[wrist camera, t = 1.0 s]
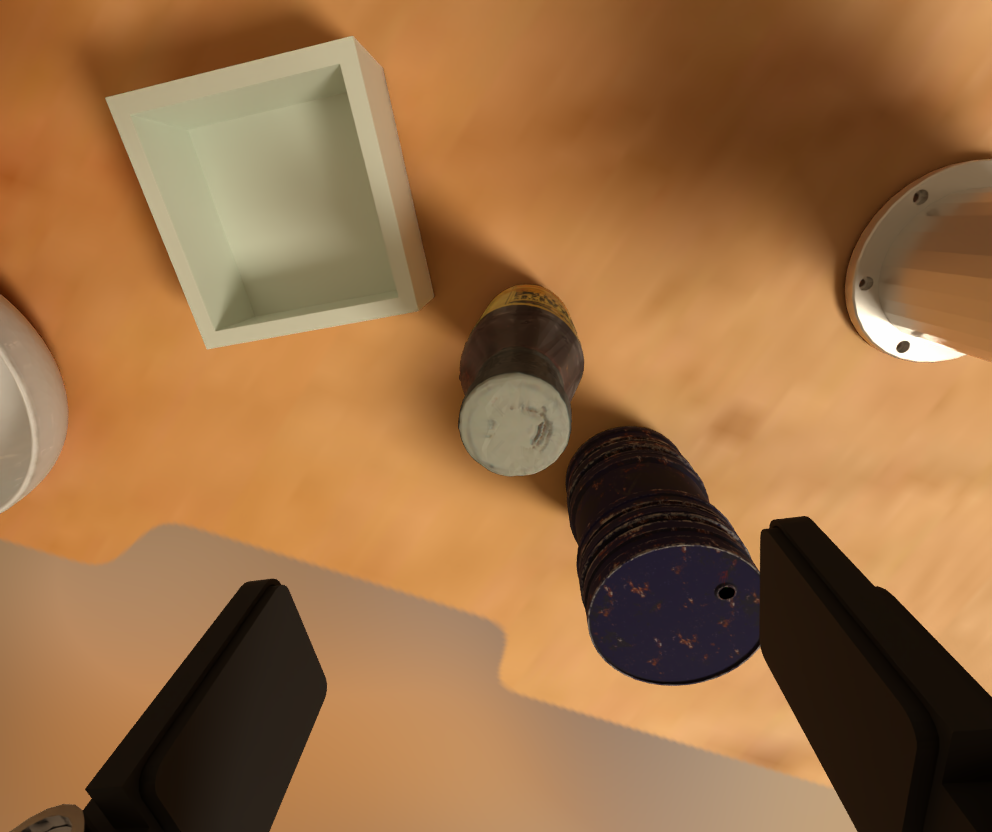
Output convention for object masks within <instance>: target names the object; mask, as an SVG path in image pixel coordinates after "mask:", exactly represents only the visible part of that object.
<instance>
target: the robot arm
mask: <svg viewBox="0 0 992 832" xmlns="http://www.w3.org/2000/svg"><path fill="white" fill-rule="evenodd" d="M860 281H861V283H860ZM859 283H860V284H859ZM845 297H846V307H847V310H848V313H849V316H850V319H851V322H852V323H853V325H854V327H855V328H856V330H857V332H858V333H859V335H860V336H861V337H862V338H863V339H864V340H865V341H866V342H867V343H868V344H869V345H871V346H873V347H874V348H876V349H878V350H879V351H881V352H883V353H885V354H888V355H890V356H893V357H895V358H898V359H902V360H907V361H912V362H929V363H934V362H940V361H947V360H953V359H956V358H959V357H962V356H966V355H970V356H973V357H977V358H980V359H983V360H986V361H990V362H992V159H983V160H972V161H966V162H961V163H956V164H951V165H948V166H945V167H943V168H940V169H937V170H935V171H932V172H929V173H928V174H926V175H924V176H922V177H921V178H919V179H917V180H915V181H914V182H912V183H910V184H909V185H907V186H906V187H905V188H903V189H902V190H901V191H900V192H898V193H897V194H896V195H894V196H893V197H892V198H891V199H890V200H889V201H888V202H887V203H886V204H885V205H884V206H883V207H882V208H881V209H880V210H879V211H878V212H877V213H876V214H875V216H874V217H873V218H872V220H871V221H870V223H869V224H868V225H867V227H866V228H865V230H864V231H863V232H862V234H861V236H860V238H859V240H858V242H857V244H856V246H855V248H854V250H853V253H852V256H851V259H850V262H849V266H848V269H847V274H846V283H845ZM759 640H760V647H761V650H762V654H763V656H764V659H765V661H766V663H767V665H768V666H769V668H770V670H771V672H772V674H773V676H774V678H775V679H776V681H777V683H778V685H779V687H780V689H781V691H782V692H783V694H784V696H785V698H786V700H787V702H788V704H789V705H790V707H791V709H792V711H793V713H794V715H795V717H796V718H797V720H798V722H799V724H800V726H801V728H802V729H803V731H804V733H805V735H806V737H807V739H808V741H809V742H810V744H811V746H812V748H813V750H814V752H815V754H816V755H817V757H818V759H819V761H820V763H821V765H822V767H823V768H824V770H825V772H826V774H827V776H828V778H829V779H830V781H831V783H832V785H833V787H834V789H835V791H836V792H837V794H838V796H839V798H840V800H841V802H842V804H843V805H844V807H845V809H846V811H847V813H848V815H849V817H850V818H851V820H852V822H853V824H854V826H855V828H856V830H857V831H858V832H992V697H991V696H990V695H989V694H988V693H987V692H986V691H985V690H984V689H983V688H982V687H981V686H980V685H979V684H978V683H977V681H976V680H975V679H974V678H973V677H972V676H971V675H970V674H969V673H968V672H967V671H966V670H965V669H964V668H963V667H962V666H961V665H960V664H959V663H958V662H957V661H956V660H955V659H954V658H953V657H952V656H951V655H950V654H949V653H948V652H947V651H946V650H945V649H944V647H943V646H942V645H941V644H940V643H939V642H938V641H937V640H936V639H935V638H934V637H933V636H932V635H931V634H930V633H929V632H928V631H927V630H926V629H925V628H924V627H923V626H922V625H921V624H920V623H919V622H918V621H917V620H916V619H915V618H914V617H913V616H912V614H911V613H910V612H909V611H908V610H907V609H906V608H905V607H904V606H903V605H902V604H901V603H900V602H899V601H898V600H897V599H896V598H895V597H894V596H893V595H892V594H890V593H889V592H888V591H887V590H886V589H883V588H881V587H878V586H877V587H875V586H874V585H873V584H872V583H871V582H870V581H869V580H868V579H867V578H866V577H865V576H864V575H863V574H862V572H861V571H860V570H859V569H858V568H857V567H856V566H855V565H854V564H853V563H852V562H851V561H850V560H849V559H848V558H847V557H846V556H845V554H844V553H843V552H842V551H841V550H840V549H839V548H838V547H837V546H836V545H835V544H834V543H833V542H832V541H831V540H830V539H829V538H828V536H827V535H826V534H825V533H824V532H823V531H822V530H821V529H820V528H819V527H818V526H817V525H816V524H815V523H814V522H813V521H812V520H811V519H810V518H809V517H806V516H801V517H793V518H784V519H776V520H773V521H771V523H770V527H769V529H763V530H762V531H761V536H760V620H759ZM326 691H327V682H326V678H325V675H324V673H323V670H322V668H321V665H320V663H319V661H318V658H317V656H316V654H315V651H314V649H313V646H312V644H311V642H310V639H309V637H308V635H307V632H306V630H305V627H304V625H303V623H302V620H301V618H300V615H299V613H298V611H297V609H296V606H295V603H294V601H293V599H292V596H291V594H290V592H289V590H288V588H287V587H286V586H285V585H281V584H280V582H279V581H278V580H277V579H266V580H258V581H250V582H246V583H244V584H243V585H242V586H241V587H240V589H239V590H238V591H237V593H236V594H235V595H234V597H233V598H232V599H231V600H230V602H229V603H228V604H227V606H226V607H225V608H224V609H223V611H222V612H221V613H220V615H219V616H218V617H217V619H216V620H215V621H214V623H213V624H212V625H211V626H210V628H209V629H208V630H207V631H206V633H205V634H204V635H203V637H202V638H201V639H200V641H199V642H198V643H197V644H196V646H195V647H194V648H193V650H192V651H191V652H190V654H189V655H188V656H187V658H186V659H185V660H184V661H183V663H182V664H181V665H180V667H179V668H178V669H177V670H176V672H175V673H174V674H173V676H172V677H171V678H170V680H169V681H168V682H167V683H166V685H165V686H164V687H163V689H162V690H161V691H160V692H159V694H158V695H157V696H156V698H155V699H154V700H153V702H152V703H151V704H150V705H149V707H148V708H147V710H146V711H145V712H144V713H143V715H142V716H141V717H140V719H139V720H138V721H137V722H136V724H135V725H134V726H133V728H132V729H131V730H130V731H129V733H128V734H127V735H126V737H125V738H124V739H123V741H122V742H121V743H120V744H119V746H118V747H117V748H116V750H115V751H114V752H113V754H112V755H111V756H110V757H109V759H108V760H107V761H106V763H105V764H104V765H103V767H102V768H101V769H100V770H99V772H98V773H97V774H96V776H95V777H94V778H93V780H92V781H91V782H90V783H89V785H88V786H87V787H86V789H85V790H86V791H87V792H88V794H89V795H90V797H91V798H92V799H91V800H90V802H89V803H88V804H87V806H86V807H85V809H84V810H81V809H80V808H79V807H77V806H76V805H69V804H62V805H59V806H56V807H52V808H49V809H46V810H44V811H42V812H40V813H38V814H36V815H34V816H32V817H30V818H29V819H27V820H26V821H25V822H23V823H22V824H20V825H19V826H17V827H16V828H14V829H13V830H12V831H10V832H269V831H270V829H271V826H272V824H273V821H274V819H275V817H276V814H277V812H278V809H279V807H280V805H281V802H282V800H283V798H284V795H285V793H286V790H287V788H288V785H289V783H290V780H291V778H292V776H293V773H294V771H295V769H296V766H297V764H298V762H299V759H300V756H301V754H302V752H303V750H304V747H305V745H306V742H307V740H308V738H309V735H310V733H311V730H312V728H313V726H314V723H315V721H316V718H317V716H318V714H319V711H320V709H321V706H322V704H323V702H324V699H325V696H326Z"/></svg>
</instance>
